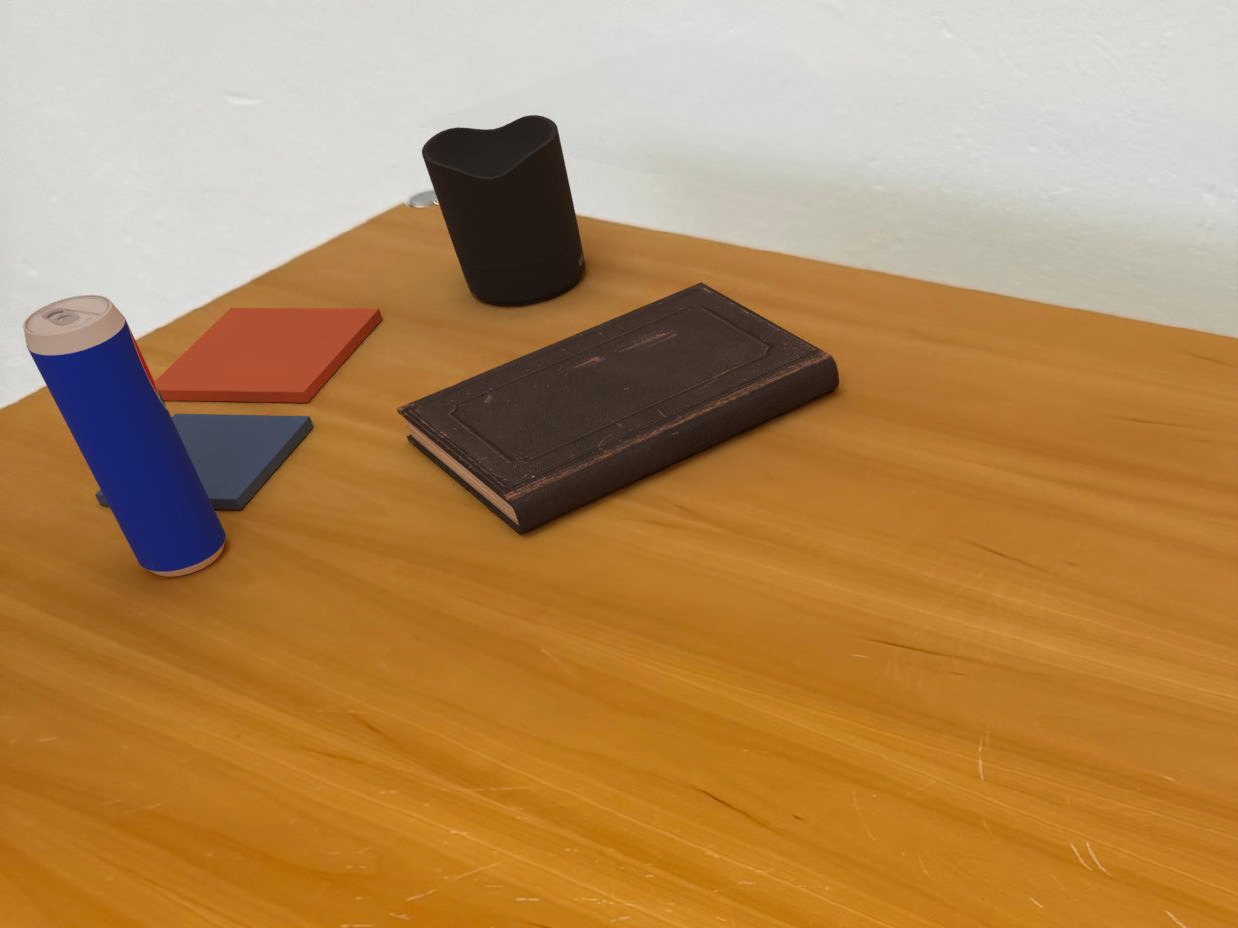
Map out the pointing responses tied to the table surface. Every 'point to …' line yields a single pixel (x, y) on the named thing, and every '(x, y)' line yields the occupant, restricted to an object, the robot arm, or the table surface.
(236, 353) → the terracotta mat
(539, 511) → the hardcover book
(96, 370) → the beverage can
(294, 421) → the blue mat
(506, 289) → the pen holder
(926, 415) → the table surface
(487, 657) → the table surface
